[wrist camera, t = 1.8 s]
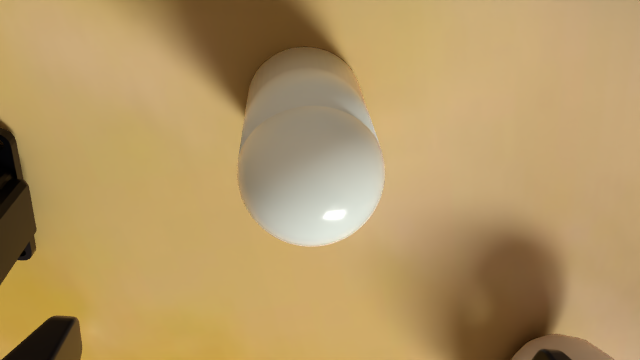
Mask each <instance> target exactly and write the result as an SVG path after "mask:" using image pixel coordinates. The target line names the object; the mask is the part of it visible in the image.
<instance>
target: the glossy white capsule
mask: <svg viewBox="0 0 640 360" xmlns="http://www.w3.org/2000/svg"><path fill="white" fill-rule="evenodd" d="M237 179H238V186H239V191H240V194H241V198H242V200H243V202H244V204H245V206H246V209H247V210H248V212H249V213H250V215H251V216H252V218H253V219H254V220H255V221H256V222H257V223H258V225H259V226H260V227H262V228H263V229H264V230H265V231H266V232H268V233H269V234H271V235H272V236H274V237H276V238H278V239H279V240H281V241H284V242H287V243H290V244H294V245H299V246H309V247H314V246H323V245H328V244H332V243H335V242H338V241H341V240H343V239H345V238H347V237H348V236H350V235H352V234H353V233H355V232H356V231H357V230H358V229H360V228H361V227H362V226H363V225H364V224H365V223H366V222H367V221H368V219H369V218H370V217H371V215H372V214H373V212H374V210H375V209H376V207H377V205H378V203H379V201H380V198H381V195H382V191H383V187H384V181H385V164H384V159H383V154H382V150H381V147H380V144H379V141H378V138H377V135H376V133H375V130H374V127H373V124H372V121H371V118H370V115H369V112H368V109H367V106H366V104H365V101H364V98H363V95H362V92H361V89H360V86H359V83H358V81H357V78H356V76H355V75H354V73H353V71H352V70H351V69H350V67H349V66H348V65H347V64H346V63H345V62H344V61H343V60H342V59H340V58H339V57H338V56H336V55H334V54H332V53H331V52H328V51H326V50H323V49H319V48H314V47H296V48H291V49H287V50H284V51H282V52H279V53H277V54H275V55H274V56H272V57H271V58H269V59H268V60H267V61H266V62H264V63H263V64H262V65H261V67H260V68H259V69H258V70H257V72H256V73H255V75H254V77H253V79H252V81H251V84H250V87H249V91H248V97H247V104H246V111H245V118H244V124H243V131H242V138H241V144H240V151H239V158H238V168H237Z"/></svg>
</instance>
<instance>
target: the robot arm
mask: <svg viewBox="0 0 640 360" xmlns="http://www.w3.org/2000/svg"><path fill="white" fill-rule="evenodd" d="M0 141H1V142H3V144H4V145H1V144H0V285H1V283H2V282H3V280H4V279H5V277H6V276H7V274H8V273H9V271H10V270H11V268H12V267H13V265H14V264H15V262H16V261H17V260H28V259H30V258H31V256H32V255H33V253H34V252H35V250H36V245H35V239H34V234H35V232H36V224H35V219H34V213H33V208H32V202H31V197H30V191H29V186H28V184H27V183H26V182H25V180H23V175H22V170H21V165H20V159H19V154H18V149H17V143H16V140H15V137H14V136H13V135H12V134H11V133H10V132H9V131H7V130H5V129H2V128H0ZM81 354H82V341H81V333H80V326H79V321H78V319H77V318H76V317H71V316H53V317H50V318H49V319H48V320H46V321H45V322H44V323H43V324H42V325H41V326H40V327H38V328H37V329H36V330H35V331H34V332H33V333H32V334H30V335H29V336H28V337H27V338H26V339H25V340H24V341H22V342H21V343H20V344H19V345H18V346H17V347H16V348H14V349H13V350H12V351H11V352H10V353H9V354H8V355H6V356H5V357H4V358H3V359H2V360H80V359H81ZM532 360H572V359H571V358H570V357H568V356H567V355H566V354H565V353H564V352H562V351H560V350H557V349H546V348H543V349H540V350H538V351H537V353H536V354H535V355H534V357H533V358H532Z"/></svg>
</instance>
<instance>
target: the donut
mask: <svg viewBox="0 0 640 360" xmlns="http://www.w3.org/2000/svg"><path fill="white" fill-rule="evenodd" d="M543 348H546V349H557V350H560V351H562V352H564V353H565V354H566V355H567V356H568V357H570V358H571V359H572V360H614V359H613V358H612V357H610V356H609V355H607V354H606V353H604V352H603V351H601V350H600V349H598V348H597V347H595V346H594V345H592V344H591V343H589V342H588V341H586V340H584V339H580V338H576V337H571V336H566V335H561V334H549V335H546V336H542V337H539V338H536V339H533V340H531V341H529V342H527V343H526V344H525V345H524V346H523V347H522V348H521V349H520V350H519V351H518V352H517V353H516V354H515V355H514V356H513V358H512V359H511V360H532V358H533V357H534V355H535V354H536V353H537V351H538V350H540V349H543Z"/></svg>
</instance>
